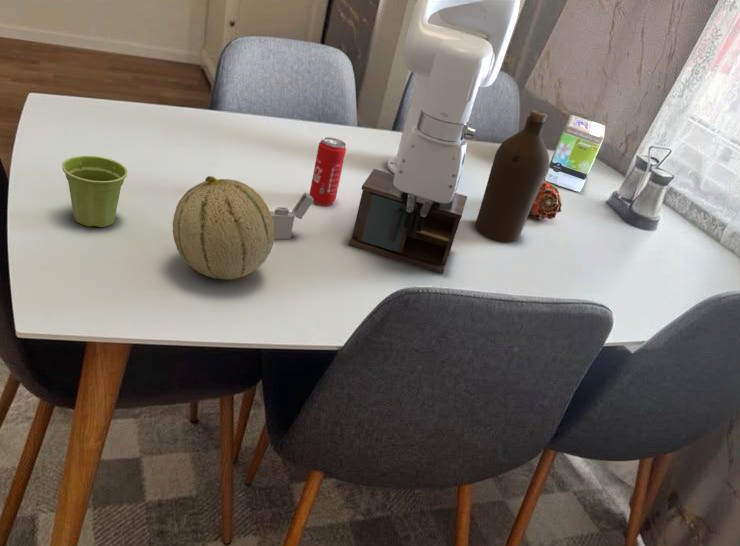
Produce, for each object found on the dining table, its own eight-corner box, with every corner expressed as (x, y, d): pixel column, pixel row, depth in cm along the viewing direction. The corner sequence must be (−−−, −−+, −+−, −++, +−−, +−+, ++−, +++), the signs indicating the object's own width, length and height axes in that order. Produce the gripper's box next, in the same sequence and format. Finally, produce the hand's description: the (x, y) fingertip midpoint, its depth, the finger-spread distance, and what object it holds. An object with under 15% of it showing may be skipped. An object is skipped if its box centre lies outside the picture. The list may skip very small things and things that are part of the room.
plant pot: (138, 221, 116) (140, 171, 111) (97, 239, 108) (98, 186, 103) (92, 201, 118) (92, 151, 113) (49, 217, 110) (47, 164, 106)
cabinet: (360, 225, 134) (374, 168, 128) (449, 252, 133) (467, 196, 127) (348, 245, 126) (362, 185, 120) (442, 274, 125) (461, 215, 119)
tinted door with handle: (358, 238, 126) (369, 191, 121) (402, 252, 126) (415, 205, 121) (353, 247, 123) (364, 199, 118) (398, 260, 122) (411, 213, 117)
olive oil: (525, 248, 143) (572, 127, 129) (475, 237, 142) (517, 114, 128) (516, 226, 152) (559, 110, 138) (469, 216, 150) (507, 98, 137)
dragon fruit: (547, 235, 156) (513, 217, 165) (576, 212, 157) (540, 196, 166) (538, 204, 150) (503, 188, 159) (568, 181, 152) (532, 166, 160)
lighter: (268, 238, 121) (275, 195, 117) (265, 234, 122) (272, 190, 118) (306, 238, 124) (314, 196, 120) (303, 234, 126) (311, 192, 121)
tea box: (581, 193, 180) (604, 137, 172) (543, 181, 182) (565, 124, 173) (584, 177, 193) (606, 124, 184) (548, 165, 194) (569, 112, 186)
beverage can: (331, 209, 137) (343, 149, 130) (305, 201, 137) (316, 141, 131) (337, 200, 141) (349, 142, 135) (312, 193, 142) (323, 134, 135)
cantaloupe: (274, 299, 106) (291, 207, 97) (173, 296, 100) (181, 198, 92) (257, 251, 117) (271, 164, 108) (165, 245, 111) (172, 154, 103)
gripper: (489, 134, 112) (455, 237, 123) (399, 108, 113) (373, 212, 124) (485, 147, 106) (450, 254, 116) (390, 119, 107) (364, 228, 117)
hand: (411, 232), depth 120 cm, fingers closed
